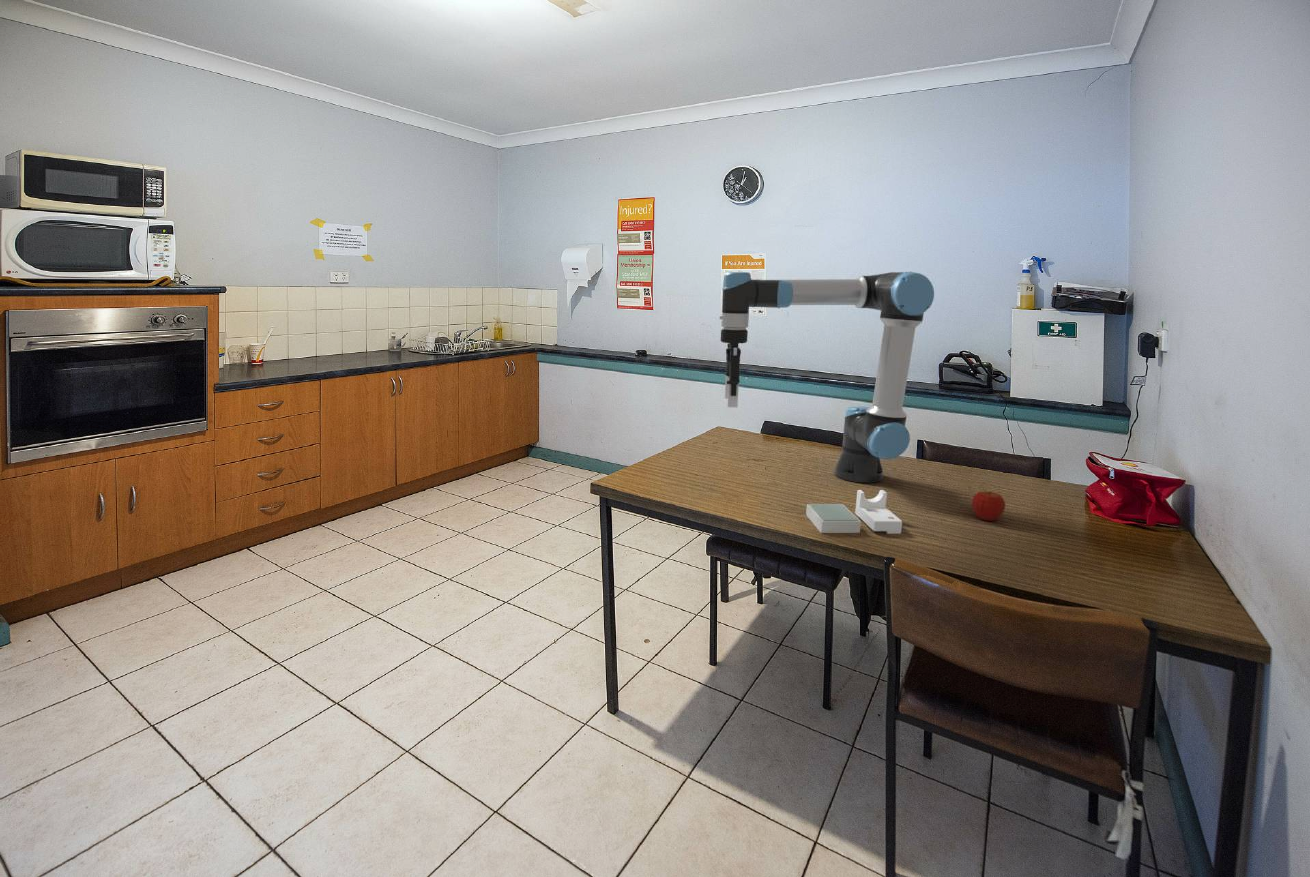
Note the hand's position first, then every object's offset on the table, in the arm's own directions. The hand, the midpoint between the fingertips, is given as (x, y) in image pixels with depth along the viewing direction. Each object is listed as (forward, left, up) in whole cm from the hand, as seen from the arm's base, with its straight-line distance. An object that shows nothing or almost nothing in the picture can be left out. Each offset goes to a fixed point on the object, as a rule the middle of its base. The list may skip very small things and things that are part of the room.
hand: (730, 402), depth 190 cm
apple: (-67, +24, -27) cm, 76 cm away
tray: (-23, +27, -27) cm, 45 cm away
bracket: (-35, +27, -27) cm, 52 cm away
